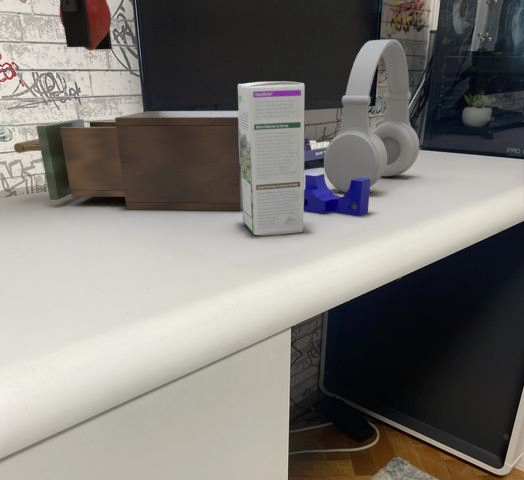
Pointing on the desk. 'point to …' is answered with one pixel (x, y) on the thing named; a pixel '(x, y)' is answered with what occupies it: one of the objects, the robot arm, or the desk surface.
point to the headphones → (357, 122)
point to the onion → (96, 20)
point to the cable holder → (326, 201)
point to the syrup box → (272, 156)
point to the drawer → (79, 158)
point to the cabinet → (181, 160)
